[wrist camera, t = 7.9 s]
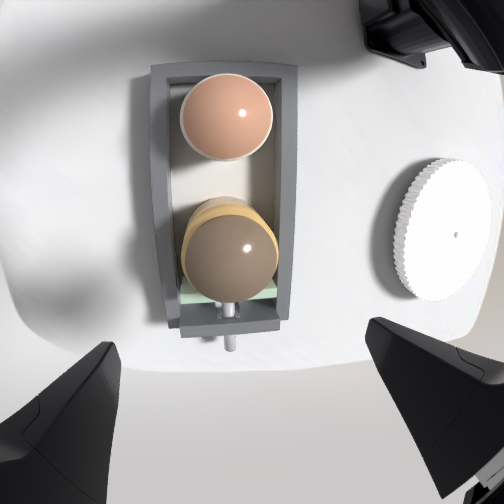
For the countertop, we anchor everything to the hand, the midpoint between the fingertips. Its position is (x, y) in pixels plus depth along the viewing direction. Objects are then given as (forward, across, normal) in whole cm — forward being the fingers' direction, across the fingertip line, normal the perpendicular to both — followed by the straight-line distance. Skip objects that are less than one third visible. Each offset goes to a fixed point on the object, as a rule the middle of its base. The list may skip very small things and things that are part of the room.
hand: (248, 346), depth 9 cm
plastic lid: (+12, -21, 0) cm, 24 cm away
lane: (+12, 0, -3) cm, 12 cm away
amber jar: (+12, 0, 0) cm, 12 cm away
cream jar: (+12, 0, -8) cm, 14 cm away
